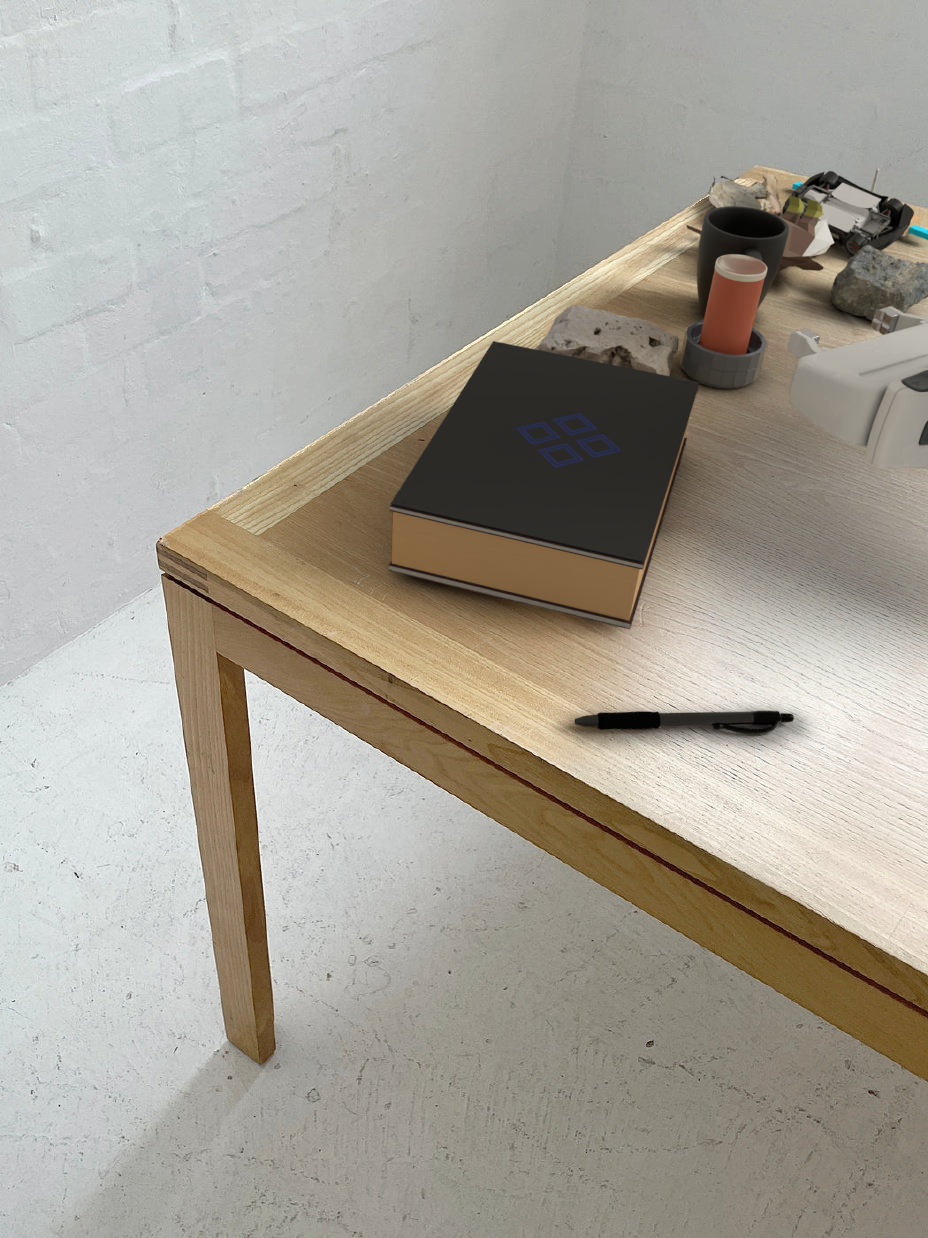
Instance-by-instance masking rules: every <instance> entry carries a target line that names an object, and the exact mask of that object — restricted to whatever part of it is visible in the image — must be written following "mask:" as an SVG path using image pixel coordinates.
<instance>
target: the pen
mask: <svg viewBox="0 0 928 1238" xmlns="http://www.w3.org/2000/svg"><path fill="white" fill-rule="evenodd" d="M794 719H795V717H794V715H793V713H788V712H780V711H779V710H763V709H760V710H759V709H758V710H750V711H748V710H747V711H701V712H700V711H698V712H697V711H694V712H693V711H691V712H689V711H688V712H659V711H648V710H647V711H646V710H645V711H644V710H640V711H639V710H638V711H615V712H605V711H604V712H598V713H597V714H587V715H582V716H579V717H577V718H574V725H577V726H579V727H582V728H588V729H589V728H591V729H592V728H593V729H597V730H600V731H607V730H626V731H627V730H628V731H629V730H630V731H632V730H635V731H636V730H637V731H639V730H641V731H642V730H643V731H645V730H653V729H656V730H659V729H660V728H693V727H694V728H696V727H697V728H698V727H700V728H701V727H705V728H706V727H712V730H714V731H721V730H725V731H728V732H729V731H730V732H733V733H737V734H744V735H754V736H756V735H766V734H769V733H773V732H774V731H775V730H776V729H777V728H778V727H779V725H780V724H785V723H792V722H794ZM749 726H750V727H749ZM753 727H759V728H753Z"/></svg>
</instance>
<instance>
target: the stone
mask: <svg viewBox="0 0 928 1238" xmlns="http://www.w3.org/2000/svg"><path fill="white" fill-rule="evenodd" d="M679 342H680V338H679V337H678V335H677V334H676V335H675V334H673V333H671V332H668V331H667V330H665V329H664V328H661V326H659V325H658V324H656V323H653V322H652V321H649V320H646V319H642V318H636V317H631V316H627V315H621V314H616V313H613V312H612V311H606V310H603V309H596V308H591V307H585V306H584V305H581V304H578V305H577V304H573V305H569V306H567V307H566V308H565V309H564V310H563V311H562V312H561V313H560V314H558V315H557V316H556V317H555V318H554V320H553V323H552V324H551V327H550V328H549V331H548V332H547V334H546V335H545V336H544V337H543V338H542V340H541V341H540V342H539V344H538V345H537V346H536V347H534V349H536V350H541V351H546V352H551V353H556V354H561V355H566V356H571V357H576V358H581V359H586V360H591V361H596V362H601V363H606V364H611V365H616V366H621V367H626V368H631V369H636V370H641V371H646V372H651V373H656V374H661V375H666V376H671V375H670V374H671V371H672V368H673V365H674V355H675V354H677V351H678V350H679Z"/></svg>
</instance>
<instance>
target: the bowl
mask: <svg viewBox="0 0 928 1238" xmlns="http://www.w3.org/2000/svg"><path fill="white" fill-rule="evenodd" d="M703 322H704V319H701V320H697V321H694V322H692V323H691V324H690V325H689V326H687V328H686V330H685V333H684V338H683V342H682V349H681V351H680V352H681V353H680V356H679V364H680V367H681V369H682V370H683V371H684V373H686V375H687V376H688V377H689V378H691V379H692V380H693V381H696V382H699V384H701V385H704V386H706V387H710V388H717V389H723V390H724V389H725V390H729V389H730V390H731V389H732V390H733V389H741V388H744V387H745V386H747V385H750V384H752V383H753V382H755V381H756V380H758V378H759V376H760V373H761V369H762V365H763V361H764V358H765V355H766V350H767V346H768V341H767V339H766V337H765V336H764V335H763V334H762V333H761V332H760V331H759V330H757V329H755V328H754V327H752V331H751V336H750V340H749V344H748V348H747V352H746V354H741V355H732V354H723V353H719V352H714V351H712V350H709V349H706V348H704V347H703V346H701V345H699V340H700V336H701V331H702V326H703Z"/></svg>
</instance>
